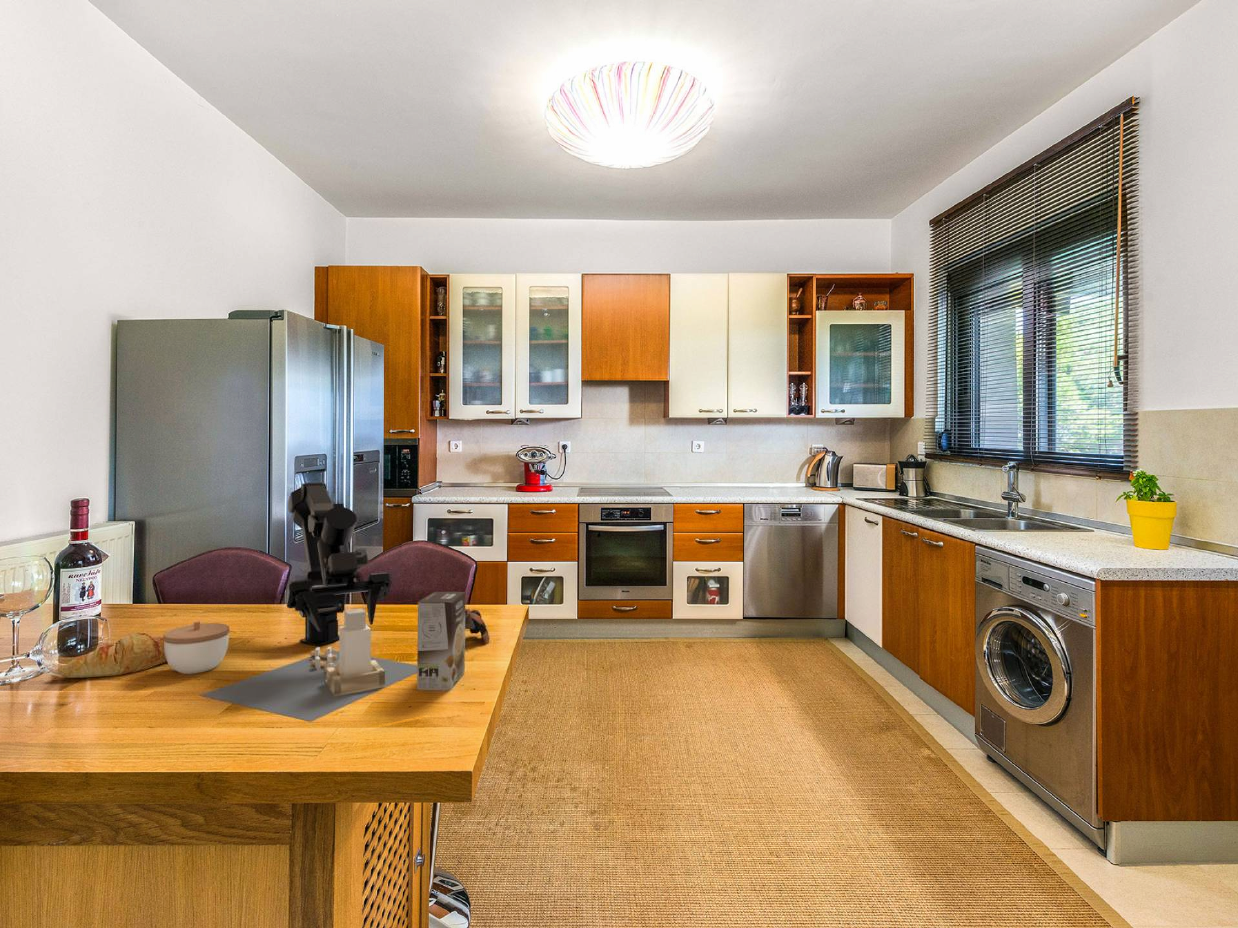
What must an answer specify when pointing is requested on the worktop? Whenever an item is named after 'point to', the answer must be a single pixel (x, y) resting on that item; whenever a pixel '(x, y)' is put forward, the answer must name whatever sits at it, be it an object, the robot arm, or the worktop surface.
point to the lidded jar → (196, 646)
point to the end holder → (356, 680)
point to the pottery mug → (476, 624)
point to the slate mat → (301, 689)
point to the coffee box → (441, 640)
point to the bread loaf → (118, 658)
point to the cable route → (328, 656)
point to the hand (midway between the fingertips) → (346, 626)
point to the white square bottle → (354, 644)
